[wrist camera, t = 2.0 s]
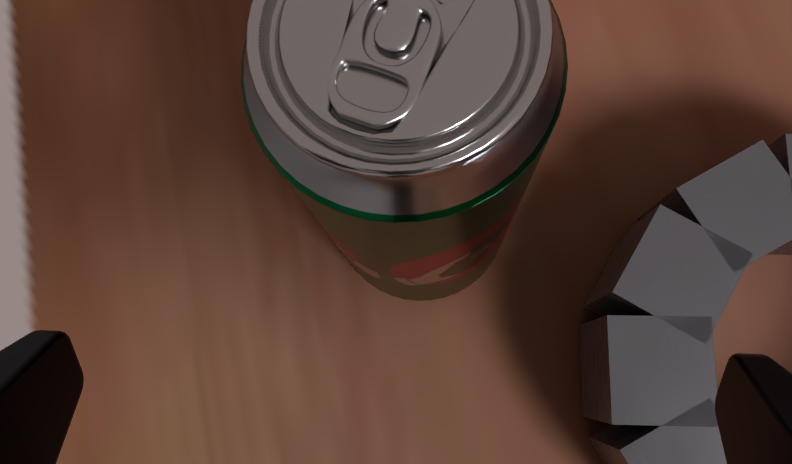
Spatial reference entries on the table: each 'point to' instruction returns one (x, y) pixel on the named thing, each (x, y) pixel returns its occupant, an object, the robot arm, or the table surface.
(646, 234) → the ring
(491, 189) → the soda can
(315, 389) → the table surface
